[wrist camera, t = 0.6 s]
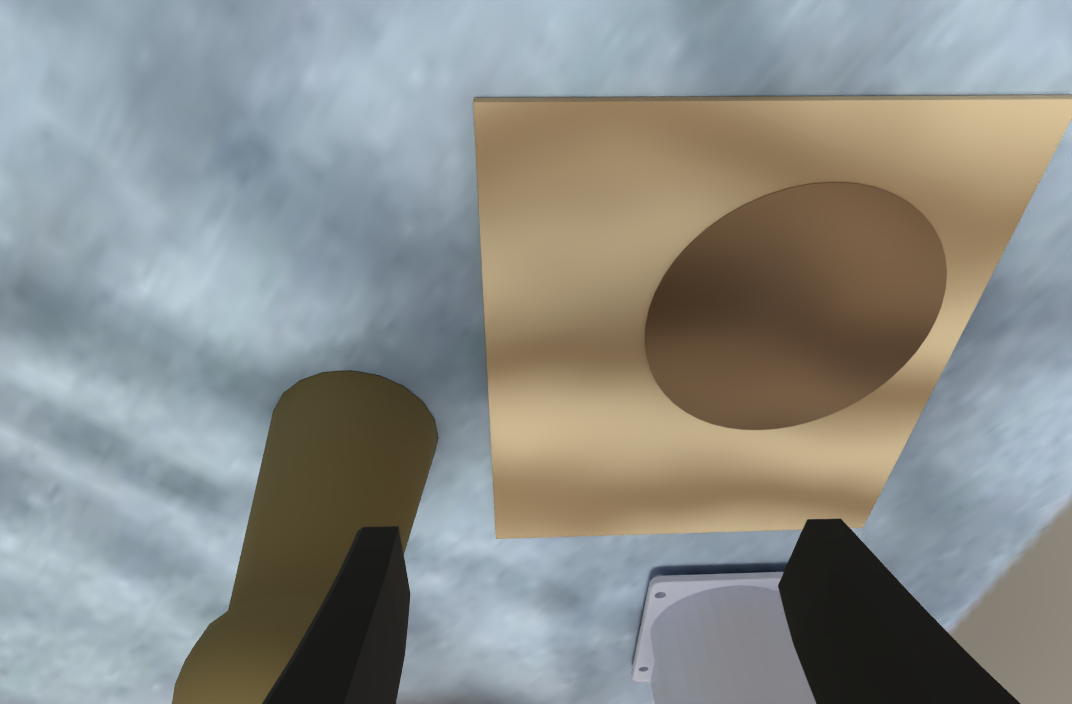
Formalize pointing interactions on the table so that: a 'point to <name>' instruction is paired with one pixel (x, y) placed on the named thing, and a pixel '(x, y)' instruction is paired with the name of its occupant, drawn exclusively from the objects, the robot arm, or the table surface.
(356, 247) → the table surface
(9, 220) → the table surface
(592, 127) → the mat
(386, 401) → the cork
